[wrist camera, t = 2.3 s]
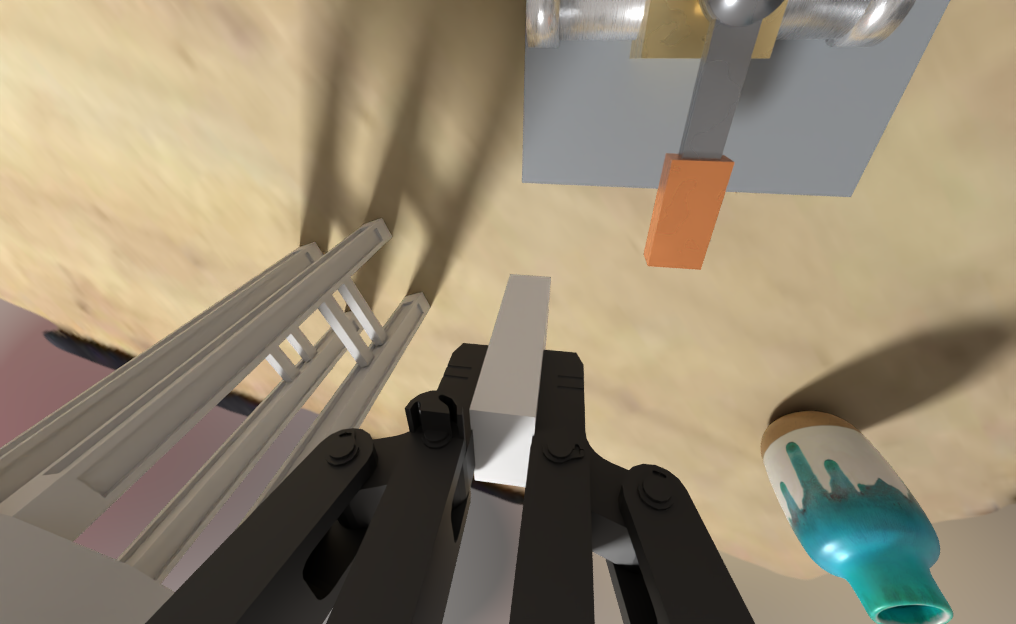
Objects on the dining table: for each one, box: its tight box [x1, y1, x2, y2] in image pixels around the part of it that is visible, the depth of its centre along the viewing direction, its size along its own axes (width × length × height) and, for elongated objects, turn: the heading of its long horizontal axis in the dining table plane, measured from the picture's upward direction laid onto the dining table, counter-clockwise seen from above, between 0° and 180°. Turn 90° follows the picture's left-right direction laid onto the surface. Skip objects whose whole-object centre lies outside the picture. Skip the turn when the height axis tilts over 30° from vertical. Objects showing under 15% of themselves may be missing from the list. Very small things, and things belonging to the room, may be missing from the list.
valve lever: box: [644, 0, 784, 270], centre depth 20 cm, size 4×16×2 cm, turn 0°
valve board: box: [522, 0, 950, 197], centre depth 26 cm, size 26×22×2 cm
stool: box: [0, 218, 431, 624], centre depth 29 cm, size 16×16×35 cm
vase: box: [761, 411, 953, 624], centre depth 38 cm, size 11×11×19 cm
